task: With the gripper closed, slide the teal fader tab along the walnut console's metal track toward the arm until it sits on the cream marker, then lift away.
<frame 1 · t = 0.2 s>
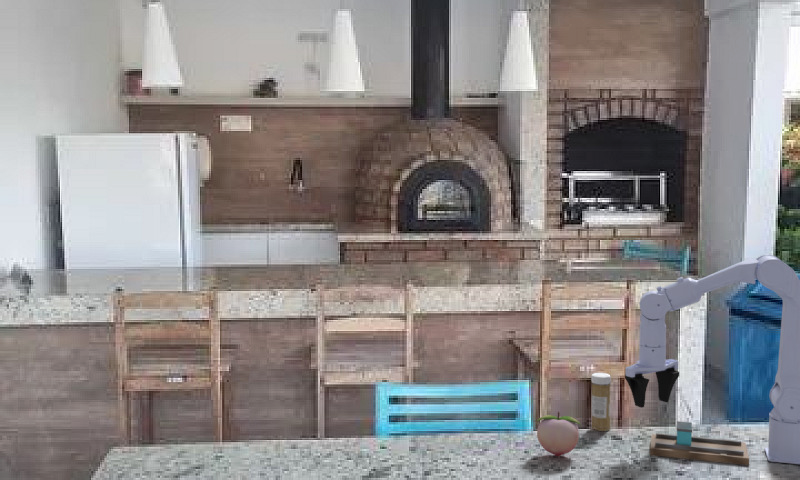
hand: (651, 403, 179), 10 cm above the table, tool pointing down, fingers open, 7 cm apart
fader console: (698, 452, 176), on the table
sprinkles bottle: (600, 429, 193), on the table
decorative fruit: (558, 457, 174), on the table
fader tab: (684, 434, 176), point 4 cm above the table, slide at 3.0 cm
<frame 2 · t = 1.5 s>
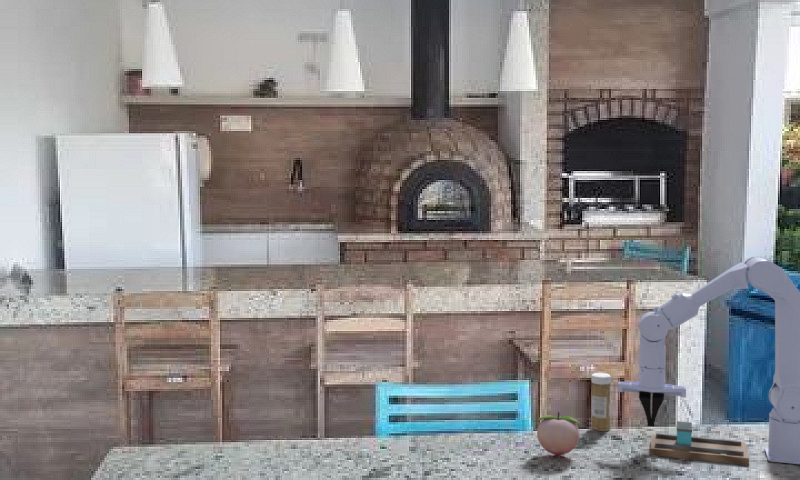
hand: (651, 425, 179), 5 cm above the table, tool pointing down, fingers closed
nothing on the table moved.
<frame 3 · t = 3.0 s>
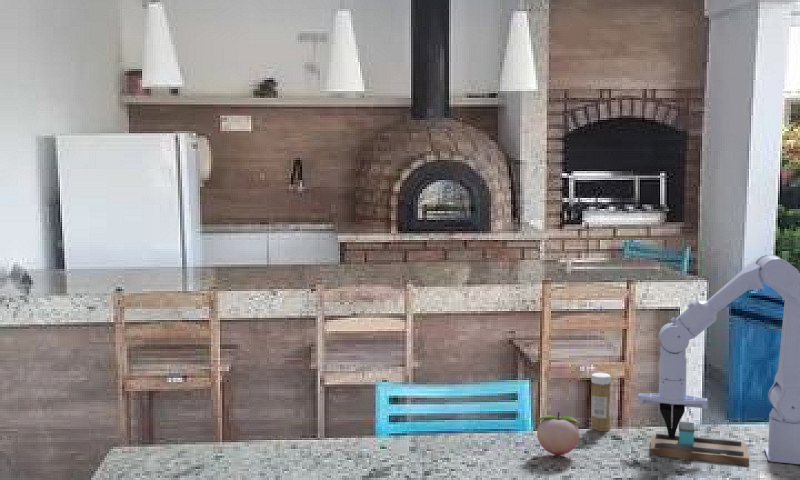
hand: (671, 437, 177), 3 cm above the table, tool pointing down, fingers closed
fader tab: (686, 434, 176), point 4 cm above the table, slide at 2.5 cm, touching gripper
everything else where it was.
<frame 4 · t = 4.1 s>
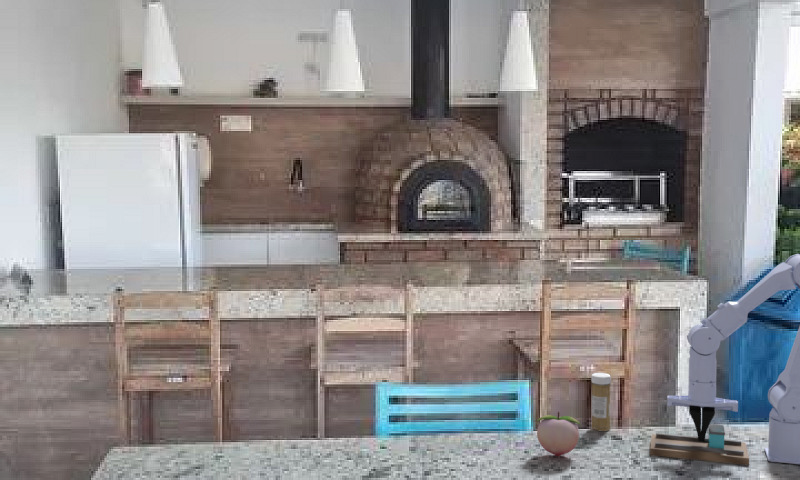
hand: (701, 439, 175), 3 cm above the table, tool pointing down, fingers closed
fader tab: (716, 437, 174), point 4 cm above the table, slide at -3.7 cm, touching gripper
everything else where it was.
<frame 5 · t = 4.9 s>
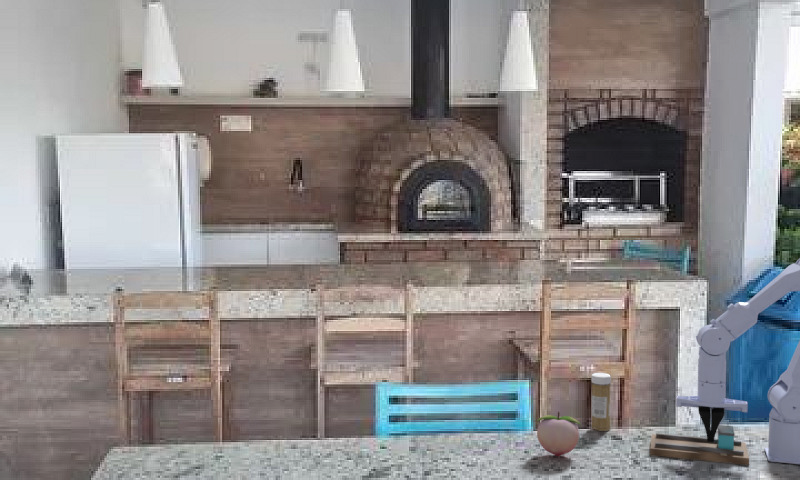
hand: (710, 440, 175), 3 cm above the table, tool pointing down, fingers closed
fader tab: (725, 437, 174), point 4 cm above the table, slide at -5.6 cm, touching gripper
everything else where it was.
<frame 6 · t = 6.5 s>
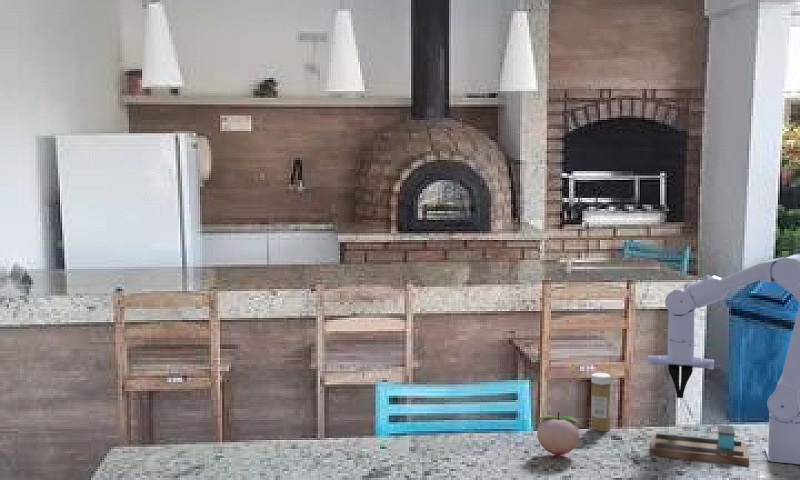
hand: (679, 396, 186), 9 cm above the table, tool pointing down, fingers closed
fader tab: (725, 438, 174), point 4 cm above the table, slide at -5.6 cm
everything else where it was.
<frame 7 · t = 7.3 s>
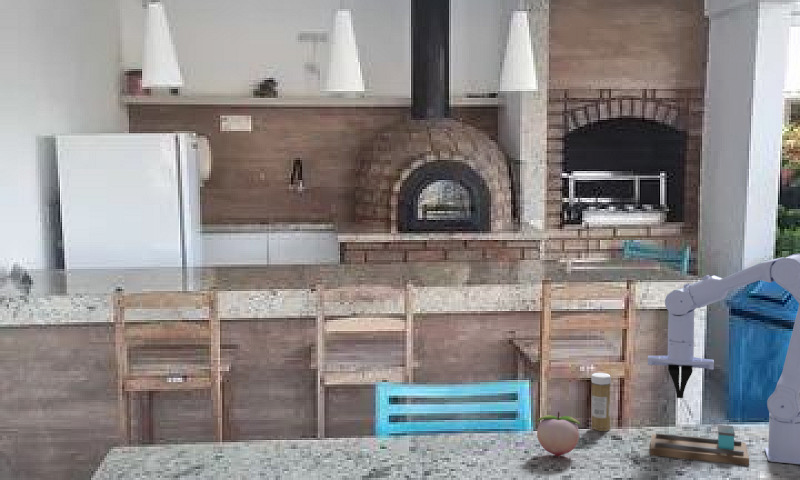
hand: (679, 396, 186), 9 cm above the table, tool pointing down, fingers closed
nothing on the table moved.
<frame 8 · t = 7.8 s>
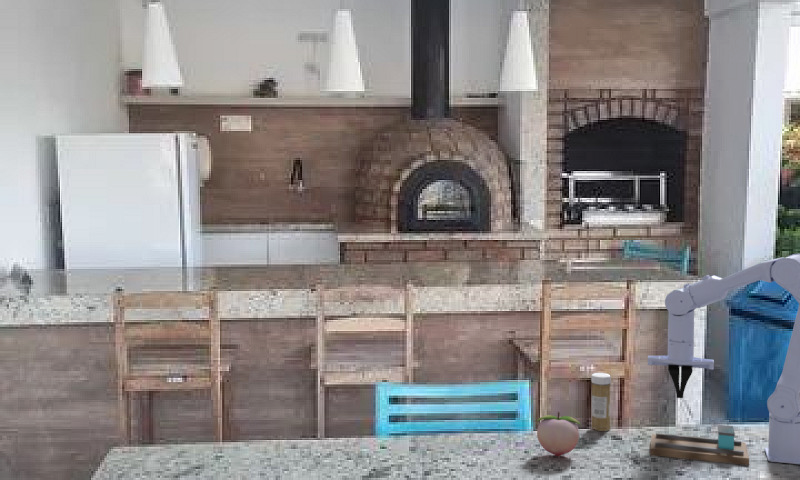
hand: (679, 396, 186), 9 cm above the table, tool pointing down, fingers closed
nothing on the table moved.
at the end: fader tab slide at -5.6 cm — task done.
